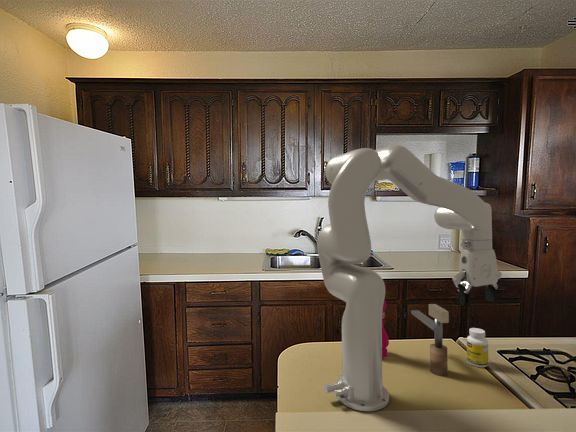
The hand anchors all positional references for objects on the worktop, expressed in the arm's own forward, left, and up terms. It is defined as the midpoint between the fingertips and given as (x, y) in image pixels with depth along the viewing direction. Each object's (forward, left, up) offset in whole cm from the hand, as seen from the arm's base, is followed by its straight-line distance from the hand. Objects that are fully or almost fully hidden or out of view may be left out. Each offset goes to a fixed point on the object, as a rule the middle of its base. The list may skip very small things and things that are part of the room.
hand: (478, 303), depth 93 cm
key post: (-15, 0, -18) cm, 23 cm away
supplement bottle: (-1, 0, -18) cm, 18 cm away
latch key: (-13, +6, -10) cm, 17 cm away
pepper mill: (-25, +15, -18) cm, 34 cm away
